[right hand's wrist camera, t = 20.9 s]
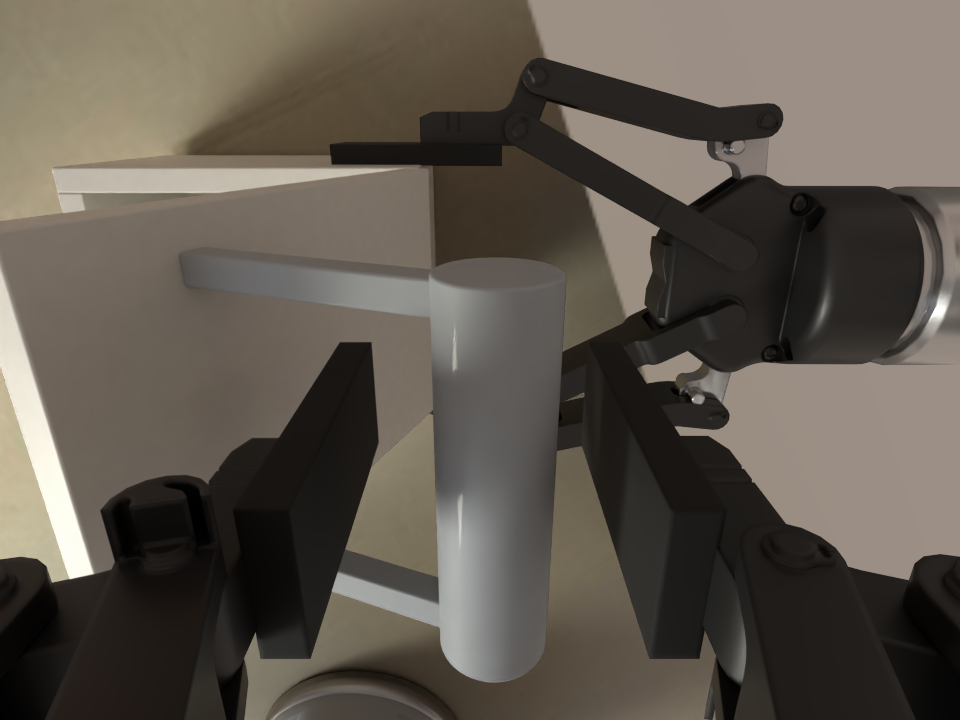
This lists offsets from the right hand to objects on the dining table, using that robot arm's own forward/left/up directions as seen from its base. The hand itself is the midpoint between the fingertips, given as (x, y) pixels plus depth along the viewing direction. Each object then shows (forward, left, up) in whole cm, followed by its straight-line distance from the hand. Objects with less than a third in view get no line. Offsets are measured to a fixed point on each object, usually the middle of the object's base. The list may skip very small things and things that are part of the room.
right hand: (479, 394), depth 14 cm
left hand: (-1, +6, -12) cm, 13 cm away
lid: (-1, +5, -2) cm, 6 cm away
